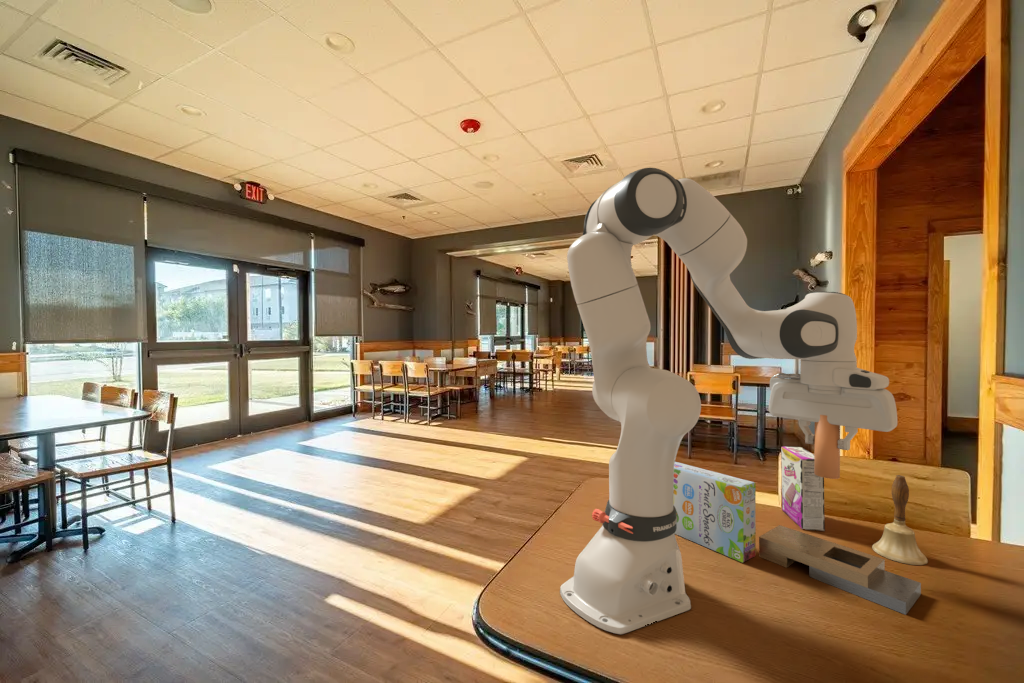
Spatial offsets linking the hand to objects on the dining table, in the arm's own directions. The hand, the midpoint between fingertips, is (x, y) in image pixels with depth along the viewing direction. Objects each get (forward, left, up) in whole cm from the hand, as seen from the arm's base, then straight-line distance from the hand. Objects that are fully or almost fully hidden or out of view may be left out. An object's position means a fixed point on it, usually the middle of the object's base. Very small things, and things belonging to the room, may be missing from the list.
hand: (827, 446), depth 83 cm
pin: (0, 0, -6) cm, 6 cm away
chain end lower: (-4, -7, -23) cm, 24 cm away
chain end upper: (-4, 0, -23) cm, 23 cm away
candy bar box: (+17, +11, -23) cm, 30 cm away
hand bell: (+15, -7, -23) cm, 28 cm away
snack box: (-11, +20, -23) cm, 32 cm away
